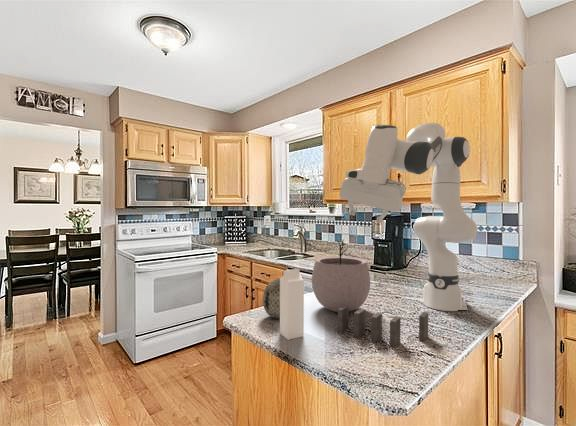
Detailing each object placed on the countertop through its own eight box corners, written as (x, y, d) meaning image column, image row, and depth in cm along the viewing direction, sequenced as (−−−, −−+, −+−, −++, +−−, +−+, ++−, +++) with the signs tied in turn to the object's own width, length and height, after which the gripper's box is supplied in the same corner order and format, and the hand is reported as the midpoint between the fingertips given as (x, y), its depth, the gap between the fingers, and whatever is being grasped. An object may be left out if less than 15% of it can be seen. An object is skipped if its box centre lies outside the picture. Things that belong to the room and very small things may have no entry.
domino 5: (422, 335, 105) (423, 311, 105) (428, 336, 104) (428, 312, 104) (419, 340, 101) (419, 315, 101) (424, 341, 100) (424, 316, 100)
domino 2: (360, 331, 108) (360, 308, 108) (364, 333, 107) (364, 309, 107) (353, 336, 104) (354, 312, 104) (358, 337, 103) (358, 313, 103)
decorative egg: (256, 318, 121) (256, 279, 121) (277, 310, 130) (277, 274, 129) (278, 325, 113) (278, 284, 113) (299, 317, 122) (299, 278, 122)
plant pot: (332, 324, 115) (332, 242, 114) (301, 305, 136) (301, 236, 136) (382, 314, 125) (383, 239, 124) (346, 298, 147) (347, 234, 146)
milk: (279, 333, 106) (279, 268, 106) (295, 330, 109) (295, 267, 109) (288, 340, 101) (287, 272, 101) (304, 336, 104) (303, 270, 103)
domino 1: (344, 327, 111) (344, 305, 111) (348, 328, 110) (348, 306, 110) (337, 332, 107) (337, 309, 107) (341, 333, 106) (342, 310, 106)
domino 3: (377, 336, 104) (377, 312, 104) (381, 337, 103) (382, 313, 103) (371, 341, 100) (371, 316, 100) (376, 342, 99) (376, 317, 99)
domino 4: (395, 340, 101) (395, 316, 100) (400, 342, 100) (400, 317, 99) (389, 346, 97) (390, 320, 96) (395, 347, 96) (395, 321, 95)
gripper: (410, 183, 95) (399, 226, 98) (350, 171, 107) (342, 210, 110) (403, 182, 90) (392, 228, 93) (341, 170, 102) (333, 211, 105)
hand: (365, 218), depth 102 cm, fingers open, 8 cm apart
